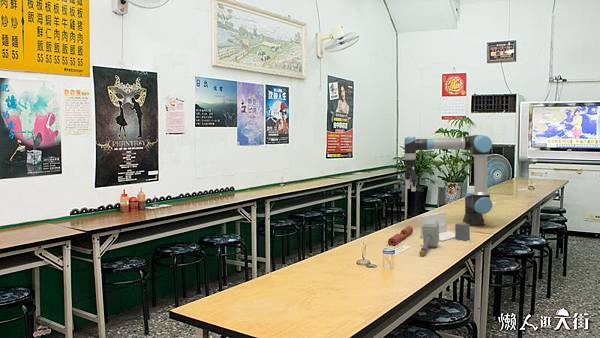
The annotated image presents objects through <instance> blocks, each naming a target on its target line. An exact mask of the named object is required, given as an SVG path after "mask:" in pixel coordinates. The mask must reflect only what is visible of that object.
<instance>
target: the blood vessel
mask: <svg viewBox="0 0 600 338" xmlns="http://www.w3.org/2000/svg"><path fill="white" fill-rule="evenodd" d="M413 232H414V228H413V226H411V225H409V226H406V227H405V228H402V230H401V231H400V233H396V234H395V235H393V236H392V237H391V236H390V238H388V240H387V244H388V245H389V246H391V247H394V246H396V245H397V244H399V243H400V242H402V241H403V240H404V239H405V238H407V237H408V236H410V235H411V234H412V233H413Z"/></svg>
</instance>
